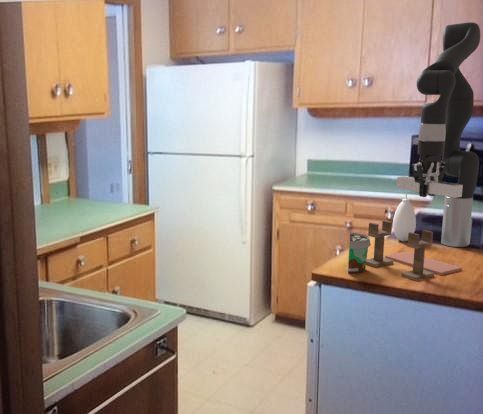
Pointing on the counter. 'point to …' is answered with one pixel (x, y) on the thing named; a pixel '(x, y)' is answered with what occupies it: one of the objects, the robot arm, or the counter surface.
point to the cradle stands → (412, 242)
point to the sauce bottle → (404, 220)
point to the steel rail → (431, 187)
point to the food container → (358, 253)
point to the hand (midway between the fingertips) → (427, 195)
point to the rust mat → (425, 263)
